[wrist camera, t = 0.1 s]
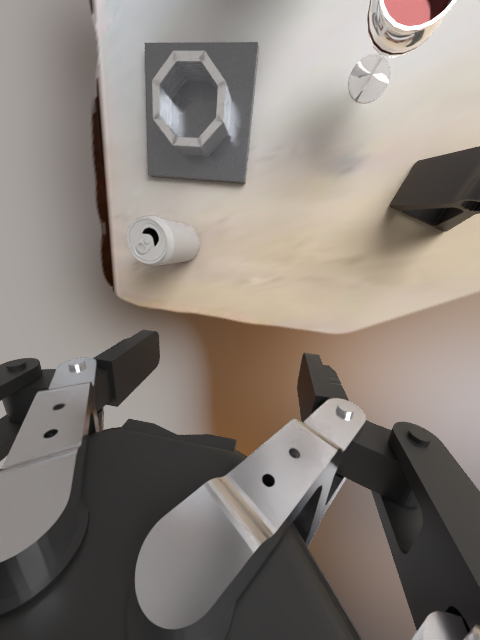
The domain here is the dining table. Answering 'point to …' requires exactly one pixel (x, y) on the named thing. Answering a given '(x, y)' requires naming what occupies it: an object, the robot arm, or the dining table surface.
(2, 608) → the robot arm
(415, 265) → the dining table surface
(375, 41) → the wineglass
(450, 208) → the phone stand
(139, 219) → the beverage can
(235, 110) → the collar stand
